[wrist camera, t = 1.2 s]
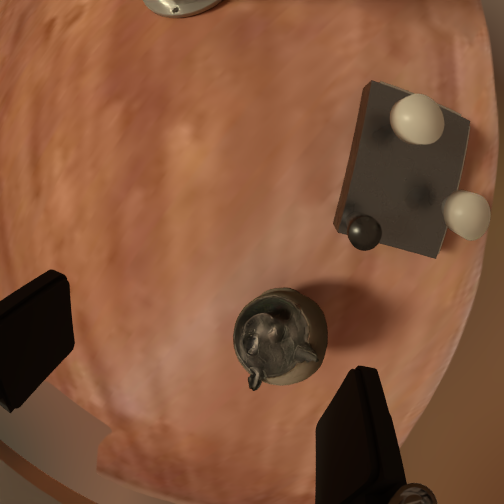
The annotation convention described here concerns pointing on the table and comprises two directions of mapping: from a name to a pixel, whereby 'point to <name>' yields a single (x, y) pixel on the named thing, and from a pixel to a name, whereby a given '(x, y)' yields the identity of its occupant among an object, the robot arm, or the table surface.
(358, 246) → the dark brown round knob
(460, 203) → the knob
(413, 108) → the knob
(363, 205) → the mount
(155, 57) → the table surface
